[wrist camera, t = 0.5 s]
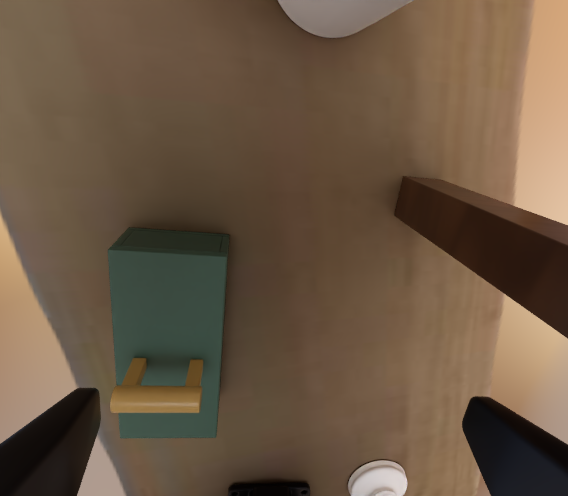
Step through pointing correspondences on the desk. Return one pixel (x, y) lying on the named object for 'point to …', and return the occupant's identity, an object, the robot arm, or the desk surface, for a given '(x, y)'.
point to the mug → (338, 14)
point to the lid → (167, 340)
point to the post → (494, 243)
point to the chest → (176, 245)
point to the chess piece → (378, 480)
